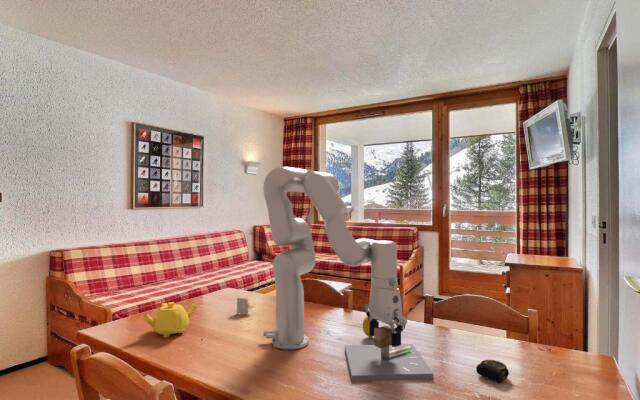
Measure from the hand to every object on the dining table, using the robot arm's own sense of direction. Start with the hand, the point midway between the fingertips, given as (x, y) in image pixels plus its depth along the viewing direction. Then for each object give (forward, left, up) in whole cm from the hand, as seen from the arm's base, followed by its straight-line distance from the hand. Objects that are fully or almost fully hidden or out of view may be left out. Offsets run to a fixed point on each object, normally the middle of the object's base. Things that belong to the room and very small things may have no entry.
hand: (384, 340), depth 106 cm
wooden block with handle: (+3, +2, -5) cm, 6 cm away
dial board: (0, 0, -7) cm, 7 cm away
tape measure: (+27, -10, -7) cm, 30 cm away
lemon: (-1, +20, -7) cm, 21 cm away
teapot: (-74, +29, -7) cm, 80 cm away
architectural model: (-51, +50, -7) cm, 72 cm away
